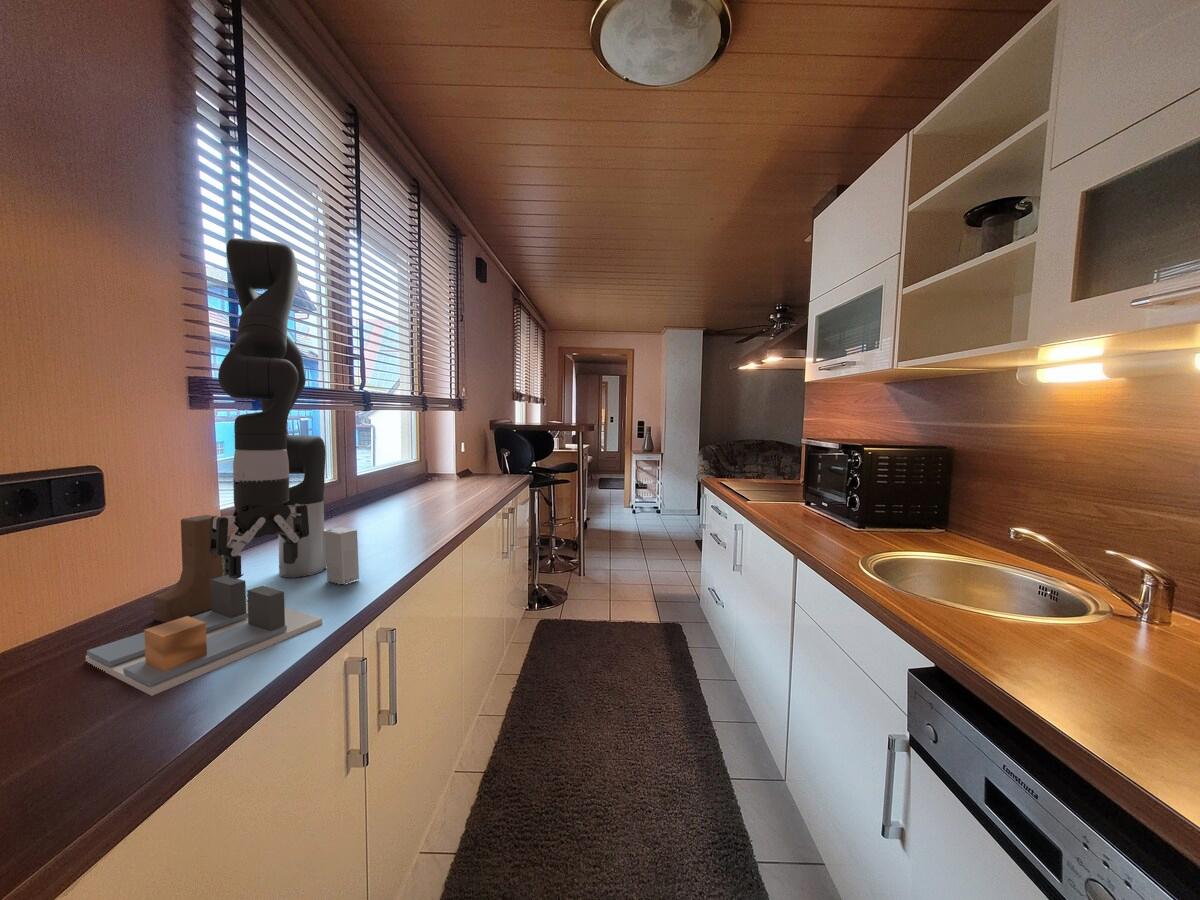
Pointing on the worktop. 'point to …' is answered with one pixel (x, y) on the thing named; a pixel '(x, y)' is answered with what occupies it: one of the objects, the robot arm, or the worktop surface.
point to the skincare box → (341, 555)
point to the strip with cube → (227, 636)
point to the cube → (175, 643)
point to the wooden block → (191, 574)
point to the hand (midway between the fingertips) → (263, 570)
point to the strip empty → (224, 611)
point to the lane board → (294, 624)
